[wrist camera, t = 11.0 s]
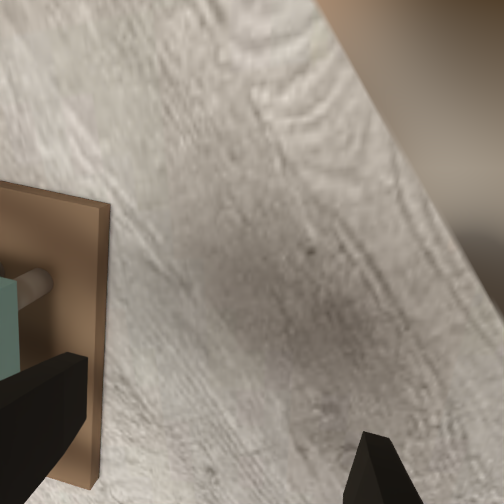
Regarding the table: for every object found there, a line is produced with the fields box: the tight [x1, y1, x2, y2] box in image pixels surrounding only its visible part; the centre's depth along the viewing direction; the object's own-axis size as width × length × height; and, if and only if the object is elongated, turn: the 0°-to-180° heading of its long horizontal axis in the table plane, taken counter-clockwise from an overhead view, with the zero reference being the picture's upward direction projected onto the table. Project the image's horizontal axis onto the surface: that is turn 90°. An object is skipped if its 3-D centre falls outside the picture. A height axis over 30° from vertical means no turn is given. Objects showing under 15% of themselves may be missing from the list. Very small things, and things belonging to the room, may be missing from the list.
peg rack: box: [0, 181, 110, 490], centre depth 22 cm, size 18×9×4 cm, turn 170°
